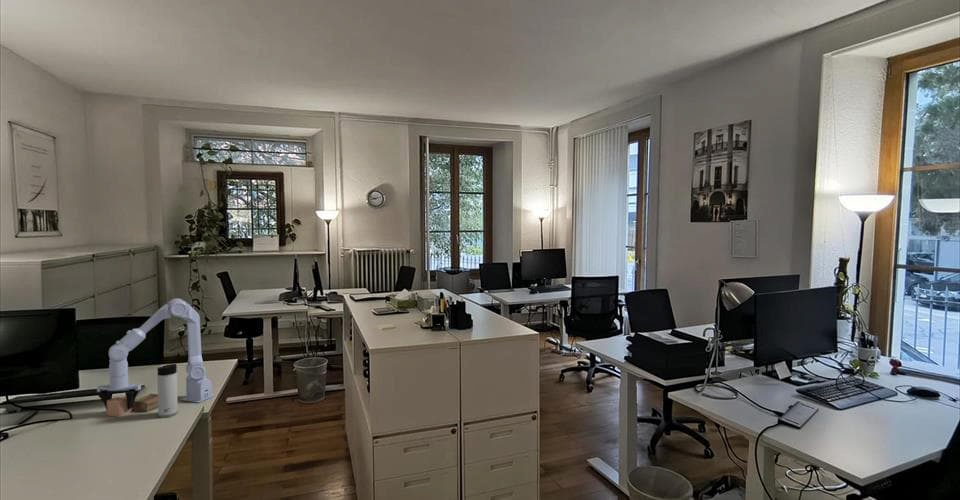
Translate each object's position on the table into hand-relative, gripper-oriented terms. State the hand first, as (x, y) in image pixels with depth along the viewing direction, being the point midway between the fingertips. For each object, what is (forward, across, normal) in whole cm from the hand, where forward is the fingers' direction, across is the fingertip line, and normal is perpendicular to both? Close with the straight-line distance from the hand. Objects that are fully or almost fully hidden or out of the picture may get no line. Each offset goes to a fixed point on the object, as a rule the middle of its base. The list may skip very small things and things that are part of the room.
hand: (119, 408), depth 177 cm
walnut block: (+2, -8, -5) cm, 10 cm away
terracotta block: (+2, 0, 0) cm, 2 cm away
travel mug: (+2, -19, +4) cm, 20 cm away
